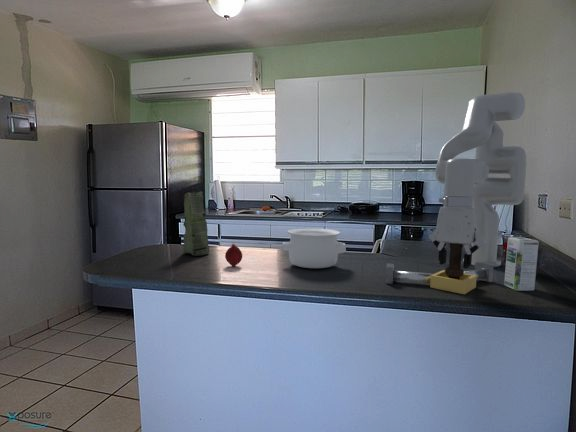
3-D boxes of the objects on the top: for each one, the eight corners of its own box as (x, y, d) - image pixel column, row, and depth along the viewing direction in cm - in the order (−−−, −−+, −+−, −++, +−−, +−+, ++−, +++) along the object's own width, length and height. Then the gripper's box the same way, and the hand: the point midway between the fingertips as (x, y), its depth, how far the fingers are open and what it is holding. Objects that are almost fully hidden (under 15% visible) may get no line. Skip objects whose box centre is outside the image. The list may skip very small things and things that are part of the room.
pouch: (185, 258, 148) (184, 191, 145) (177, 252, 158) (176, 190, 156) (214, 255, 153) (213, 191, 151) (204, 250, 164) (204, 190, 161)
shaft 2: (466, 286, 115) (467, 269, 114) (451, 282, 119) (452, 265, 119) (492, 281, 120) (493, 265, 120) (478, 277, 125) (479, 262, 124)
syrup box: (503, 285, 116) (506, 236, 115) (522, 285, 117) (525, 236, 115) (515, 291, 111) (519, 240, 109) (535, 290, 111) (539, 240, 110)
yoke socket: (442, 281, 120) (443, 269, 120) (475, 287, 114) (476, 275, 113) (430, 287, 113) (430, 275, 113) (464, 294, 107) (465, 281, 106)
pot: (342, 261, 146) (343, 228, 144) (347, 273, 128) (348, 236, 127) (283, 260, 147) (283, 227, 145) (280, 271, 130) (280, 234, 128)
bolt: (462, 286, 115) (466, 235, 114) (465, 290, 110) (469, 237, 109) (441, 284, 117) (444, 233, 115) (443, 288, 112) (447, 235, 111)
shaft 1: (433, 283, 117) (434, 266, 117) (434, 287, 113) (435, 270, 112) (386, 279, 121) (387, 263, 121) (385, 283, 117) (386, 266, 116)
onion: (245, 265, 137) (245, 242, 136) (236, 269, 132) (236, 245, 131) (231, 263, 139) (231, 241, 139) (221, 267, 134) (221, 244, 133)
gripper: (422, 201, 114) (419, 262, 116) (487, 205, 102) (482, 273, 104) (433, 200, 119) (430, 259, 121) (495, 204, 108) (490, 268, 110)
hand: (454, 265), depth 113 cm, fingers open, 6 cm apart
